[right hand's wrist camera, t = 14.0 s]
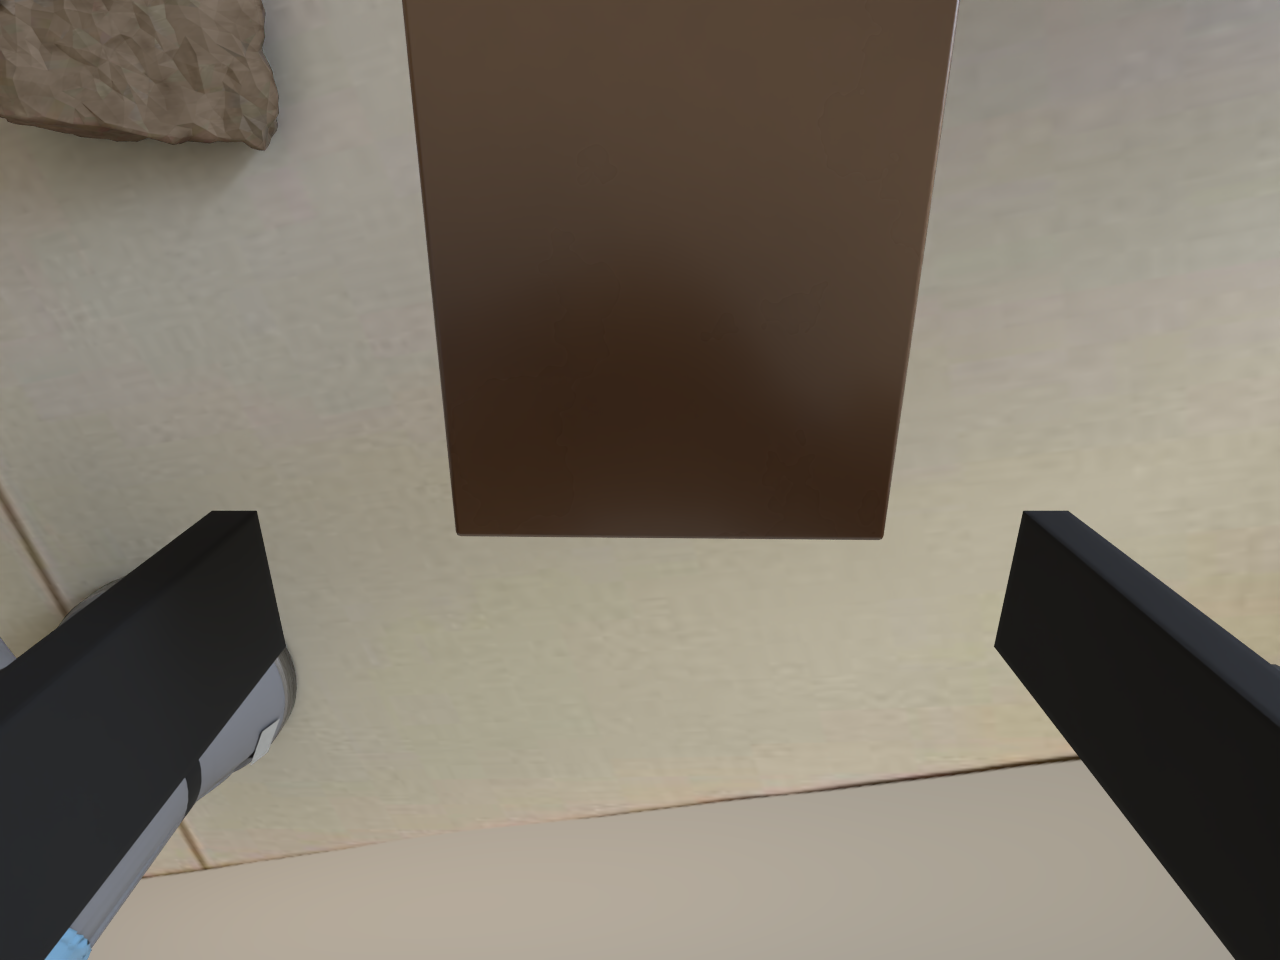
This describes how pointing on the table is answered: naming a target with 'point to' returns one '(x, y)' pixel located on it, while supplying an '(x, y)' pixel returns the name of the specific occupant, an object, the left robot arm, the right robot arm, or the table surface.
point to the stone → (139, 69)
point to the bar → (675, 257)
